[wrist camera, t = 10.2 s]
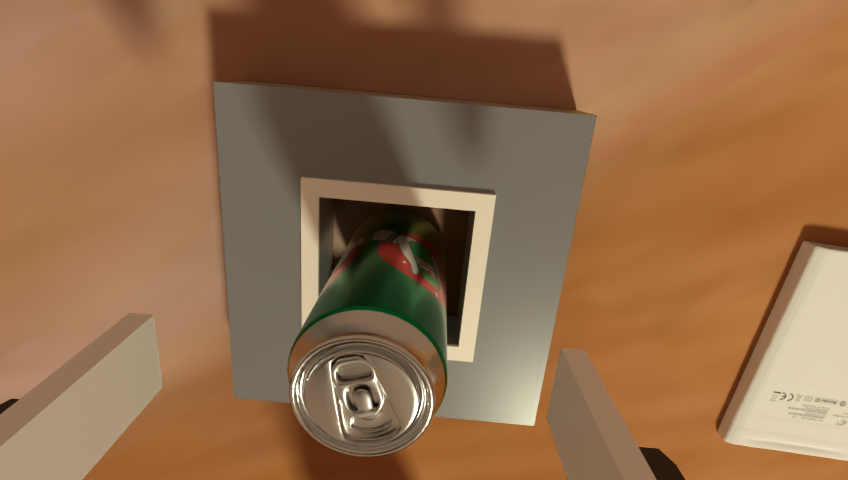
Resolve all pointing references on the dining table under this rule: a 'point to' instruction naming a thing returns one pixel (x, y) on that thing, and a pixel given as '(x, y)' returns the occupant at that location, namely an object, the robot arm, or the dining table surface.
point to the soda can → (375, 341)
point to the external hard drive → (799, 364)
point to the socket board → (407, 185)
